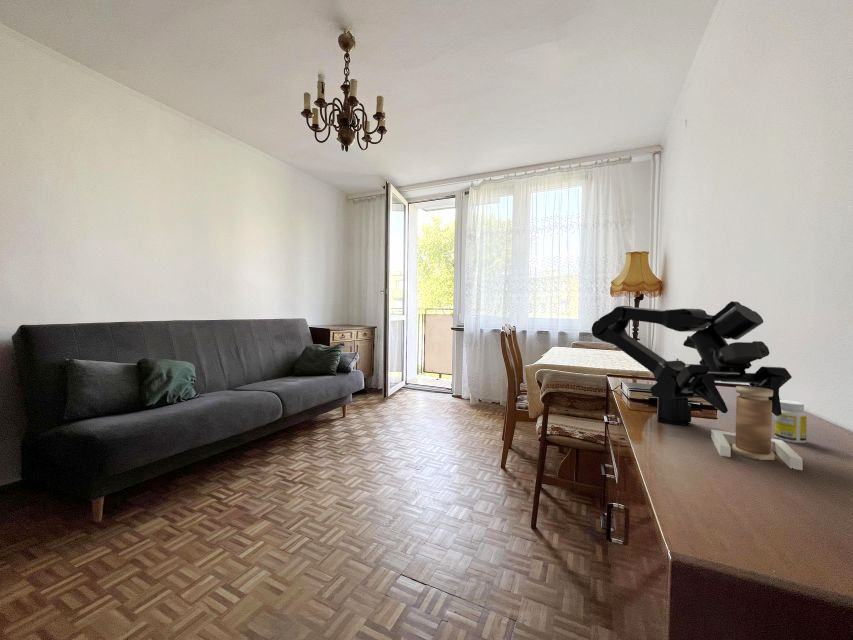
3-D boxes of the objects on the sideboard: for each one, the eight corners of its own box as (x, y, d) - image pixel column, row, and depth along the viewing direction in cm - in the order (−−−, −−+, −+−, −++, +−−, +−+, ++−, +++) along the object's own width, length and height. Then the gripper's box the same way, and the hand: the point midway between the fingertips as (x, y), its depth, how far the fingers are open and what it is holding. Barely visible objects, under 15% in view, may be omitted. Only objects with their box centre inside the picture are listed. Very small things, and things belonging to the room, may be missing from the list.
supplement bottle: (796, 437, 75) (797, 400, 75) (812, 445, 71) (813, 405, 71) (769, 434, 77) (770, 398, 77) (783, 442, 72) (784, 403, 72)
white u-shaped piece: (720, 455, 65) (720, 445, 65) (711, 438, 74) (711, 429, 74) (802, 470, 59) (802, 459, 59) (781, 450, 68) (781, 440, 68)
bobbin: (735, 455, 65) (736, 389, 65) (729, 446, 70) (730, 384, 70) (779, 463, 62) (780, 393, 61) (769, 452, 66) (770, 387, 66)
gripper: (685, 327, 72) (720, 389, 61) (785, 328, 69) (840, 394, 58) (664, 358, 80) (692, 418, 69) (753, 361, 77) (796, 424, 66)
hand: (752, 413), depth 66 cm, fingers open, 9 cm apart
